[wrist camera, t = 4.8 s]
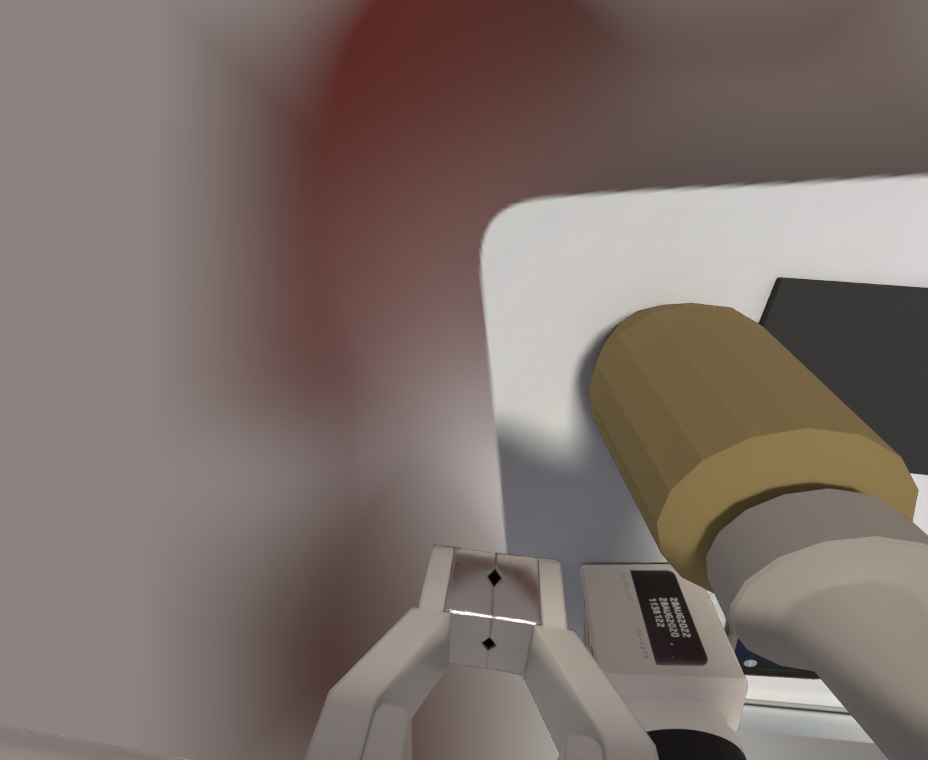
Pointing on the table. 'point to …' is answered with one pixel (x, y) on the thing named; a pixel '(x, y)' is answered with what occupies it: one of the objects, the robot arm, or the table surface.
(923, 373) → the mat
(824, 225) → the table surface
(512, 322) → the table surface
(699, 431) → the squeeze bottle
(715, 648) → the container
